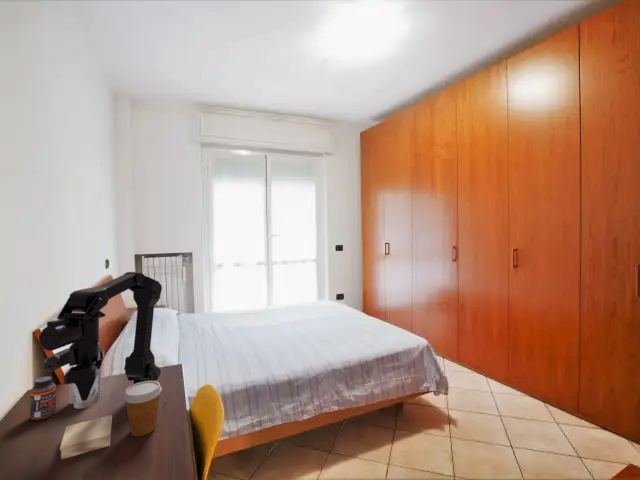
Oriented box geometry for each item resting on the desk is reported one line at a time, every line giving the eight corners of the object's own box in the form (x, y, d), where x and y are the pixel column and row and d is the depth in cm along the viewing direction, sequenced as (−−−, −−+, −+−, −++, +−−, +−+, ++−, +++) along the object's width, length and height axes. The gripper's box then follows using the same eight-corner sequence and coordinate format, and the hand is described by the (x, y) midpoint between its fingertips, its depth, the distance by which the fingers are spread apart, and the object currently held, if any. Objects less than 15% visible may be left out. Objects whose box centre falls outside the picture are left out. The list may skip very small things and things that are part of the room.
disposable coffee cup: (115, 435, 88) (115, 392, 88) (145, 417, 97) (145, 377, 97) (140, 443, 84) (140, 399, 84) (169, 423, 93) (169, 383, 93)
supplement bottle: (40, 422, 94) (40, 384, 94) (24, 420, 95) (24, 382, 95) (61, 411, 100) (60, 375, 100) (45, 409, 101) (45, 374, 101)
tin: (75, 400, 87) (75, 371, 87) (100, 395, 89) (100, 367, 89) (70, 410, 82) (70, 379, 82) (97, 405, 84) (97, 374, 84)
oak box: (112, 425, 93) (112, 415, 92) (110, 445, 84) (110, 434, 84) (66, 437, 87) (66, 426, 87) (60, 460, 78) (59, 448, 78)
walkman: (100, 397, 108) (99, 362, 108) (95, 402, 105) (95, 366, 105) (74, 399, 107) (73, 364, 107) (69, 404, 104) (68, 367, 104)
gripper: (56, 332, 90) (57, 387, 90) (36, 353, 73) (36, 421, 74) (104, 327, 95) (104, 379, 95) (94, 346, 79) (95, 409, 79)
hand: (86, 395), depth 86 cm, fingers closed on tin, 5 cm apart
